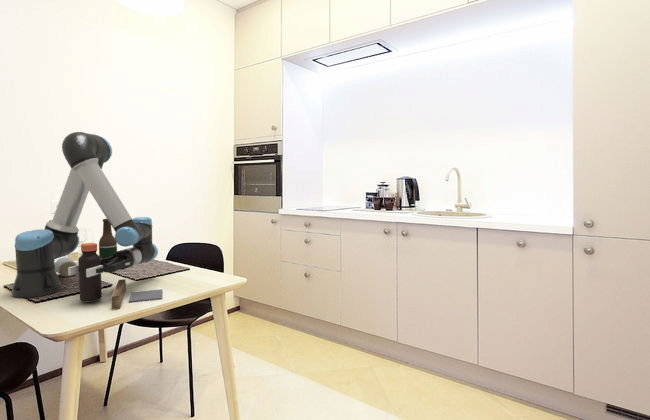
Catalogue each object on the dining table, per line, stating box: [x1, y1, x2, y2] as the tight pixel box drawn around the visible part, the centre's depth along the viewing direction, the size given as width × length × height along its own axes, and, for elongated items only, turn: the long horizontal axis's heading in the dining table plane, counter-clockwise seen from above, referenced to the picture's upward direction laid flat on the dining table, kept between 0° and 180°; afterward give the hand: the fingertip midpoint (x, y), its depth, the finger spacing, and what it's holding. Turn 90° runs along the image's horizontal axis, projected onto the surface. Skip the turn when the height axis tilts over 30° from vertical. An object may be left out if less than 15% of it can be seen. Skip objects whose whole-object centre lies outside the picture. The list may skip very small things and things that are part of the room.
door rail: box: [111, 278, 127, 310], centre depth 140 cm, size 2×22×4 cm, turn 23°
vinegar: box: [77, 242, 103, 303], centre depth 135 cm, size 7×7×20 cm
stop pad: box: [128, 289, 163, 304], centre depth 143 cm, size 11×11×1 cm
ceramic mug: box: [55, 256, 78, 278], centre depth 171 cm, size 11×8×8 cm
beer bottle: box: [98, 218, 118, 259], centre depth 184 cm, size 8×8×24 cm
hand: (78, 272), depth 130 cm, fingers closed on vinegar, 7 cm apart
